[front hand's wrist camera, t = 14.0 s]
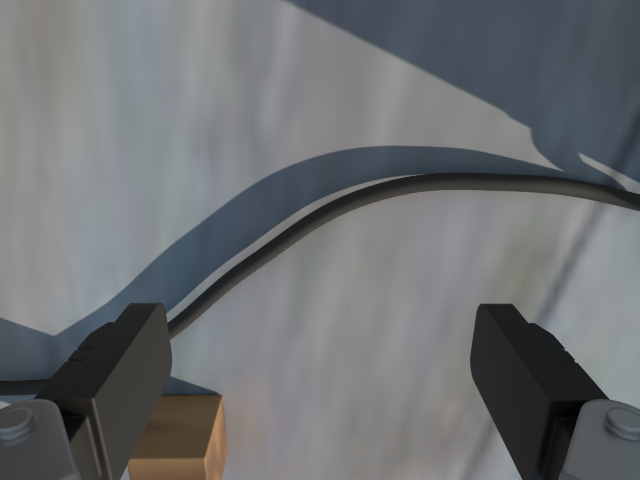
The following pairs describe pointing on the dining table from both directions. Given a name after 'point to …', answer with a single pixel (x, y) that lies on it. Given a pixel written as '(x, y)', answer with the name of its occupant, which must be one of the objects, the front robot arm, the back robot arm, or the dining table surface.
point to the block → (182, 440)
